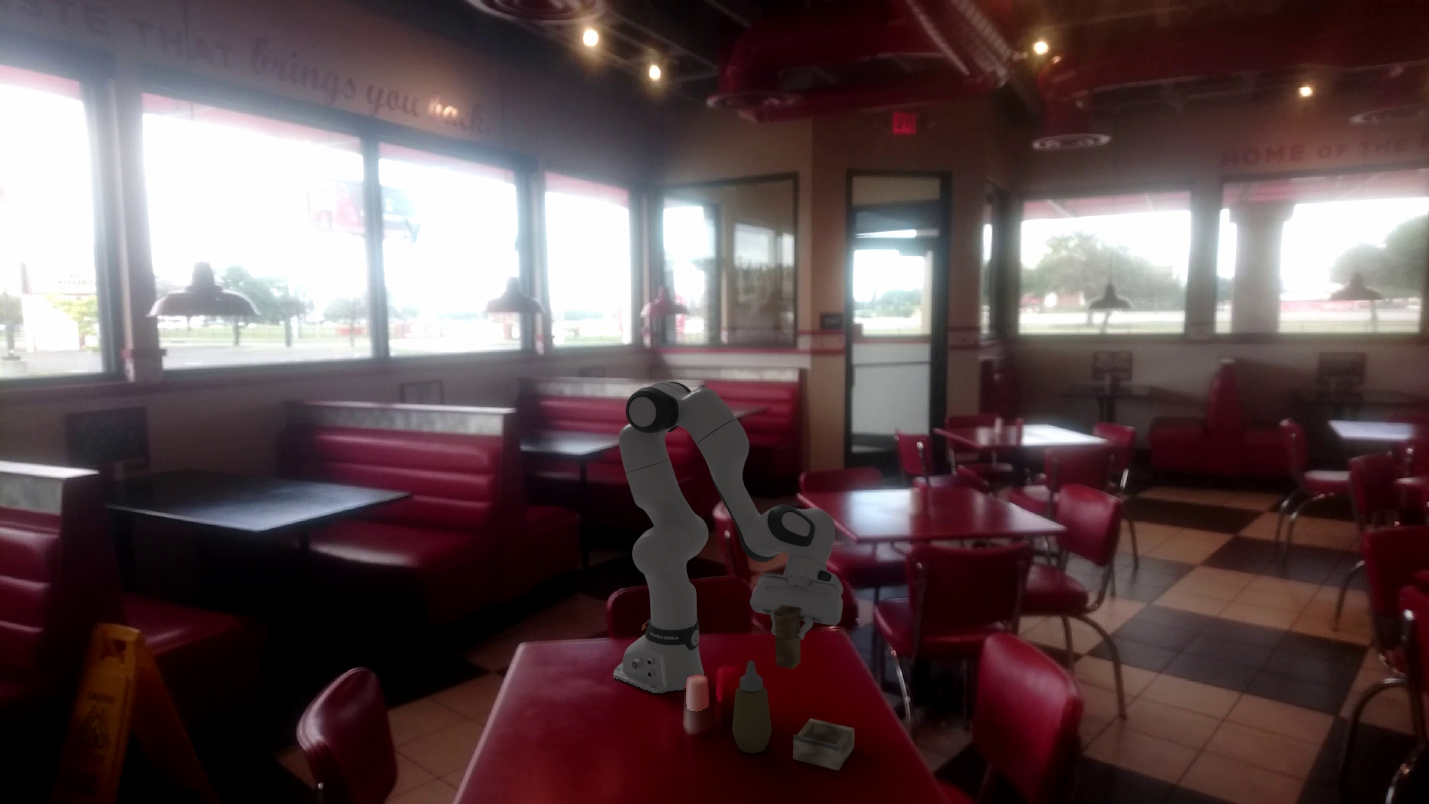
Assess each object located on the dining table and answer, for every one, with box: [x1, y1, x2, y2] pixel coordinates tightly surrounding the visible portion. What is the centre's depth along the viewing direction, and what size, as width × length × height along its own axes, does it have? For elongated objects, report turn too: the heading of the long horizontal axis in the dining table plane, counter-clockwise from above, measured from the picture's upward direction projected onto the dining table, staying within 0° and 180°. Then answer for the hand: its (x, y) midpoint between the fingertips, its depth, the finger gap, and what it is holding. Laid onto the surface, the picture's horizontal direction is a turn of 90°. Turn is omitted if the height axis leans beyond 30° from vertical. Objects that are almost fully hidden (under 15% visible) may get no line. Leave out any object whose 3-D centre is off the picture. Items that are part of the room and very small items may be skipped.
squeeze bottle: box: [731, 660, 772, 754], centre depth 165 cm, size 8×8×18 cm
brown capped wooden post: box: [774, 605, 801, 670], centre depth 174 cm, size 4×4×12 cm
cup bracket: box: [792, 718, 855, 771], centre depth 163 cm, size 9×9×5 cm
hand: (786, 636), depth 173 cm, fingers closed on brown capped wooden post, 4 cm apart
